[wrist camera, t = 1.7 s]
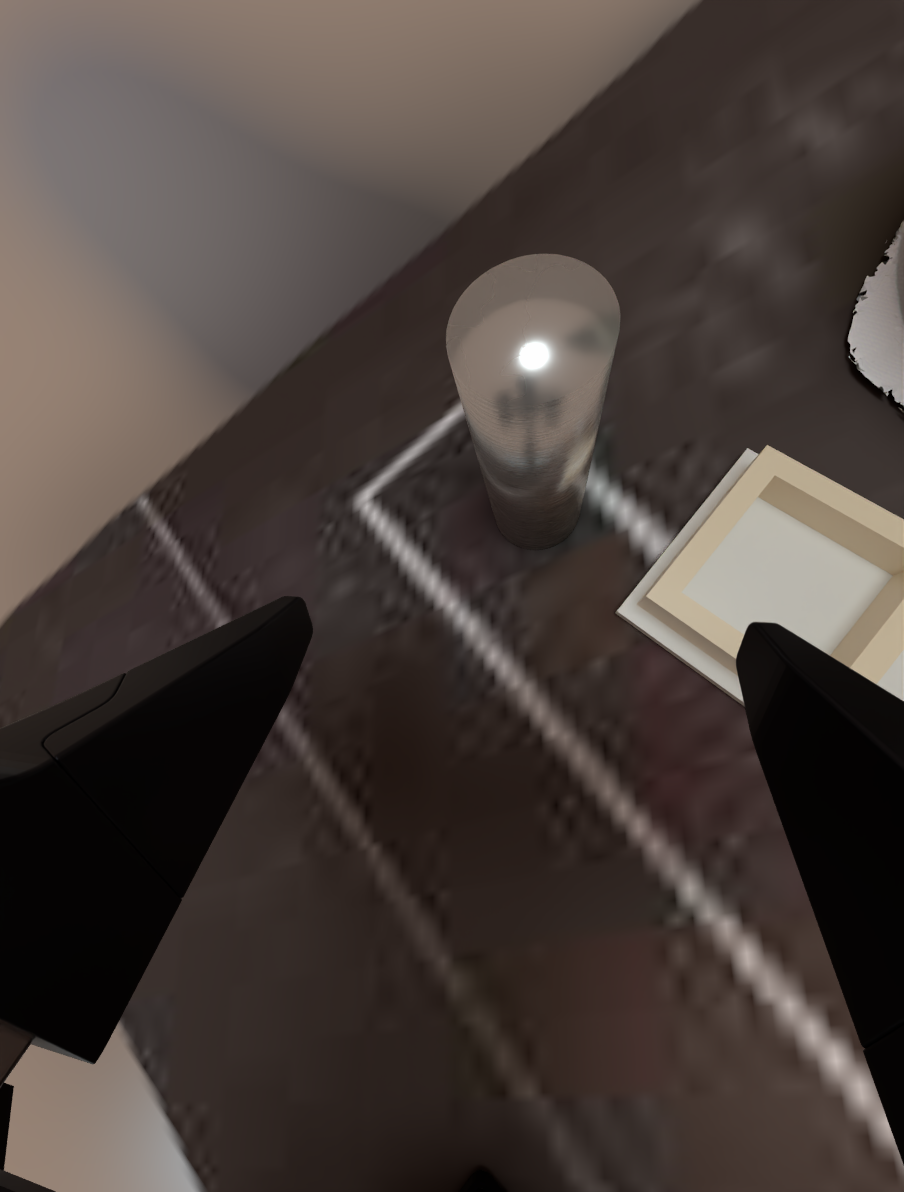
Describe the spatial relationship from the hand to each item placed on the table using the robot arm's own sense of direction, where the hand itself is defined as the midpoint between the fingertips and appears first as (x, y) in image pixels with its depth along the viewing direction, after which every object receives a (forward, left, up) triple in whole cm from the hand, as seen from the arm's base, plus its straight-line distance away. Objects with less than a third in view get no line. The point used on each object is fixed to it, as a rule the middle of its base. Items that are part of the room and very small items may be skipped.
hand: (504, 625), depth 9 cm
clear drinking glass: (+6, +4, -13) cm, 16 cm away
